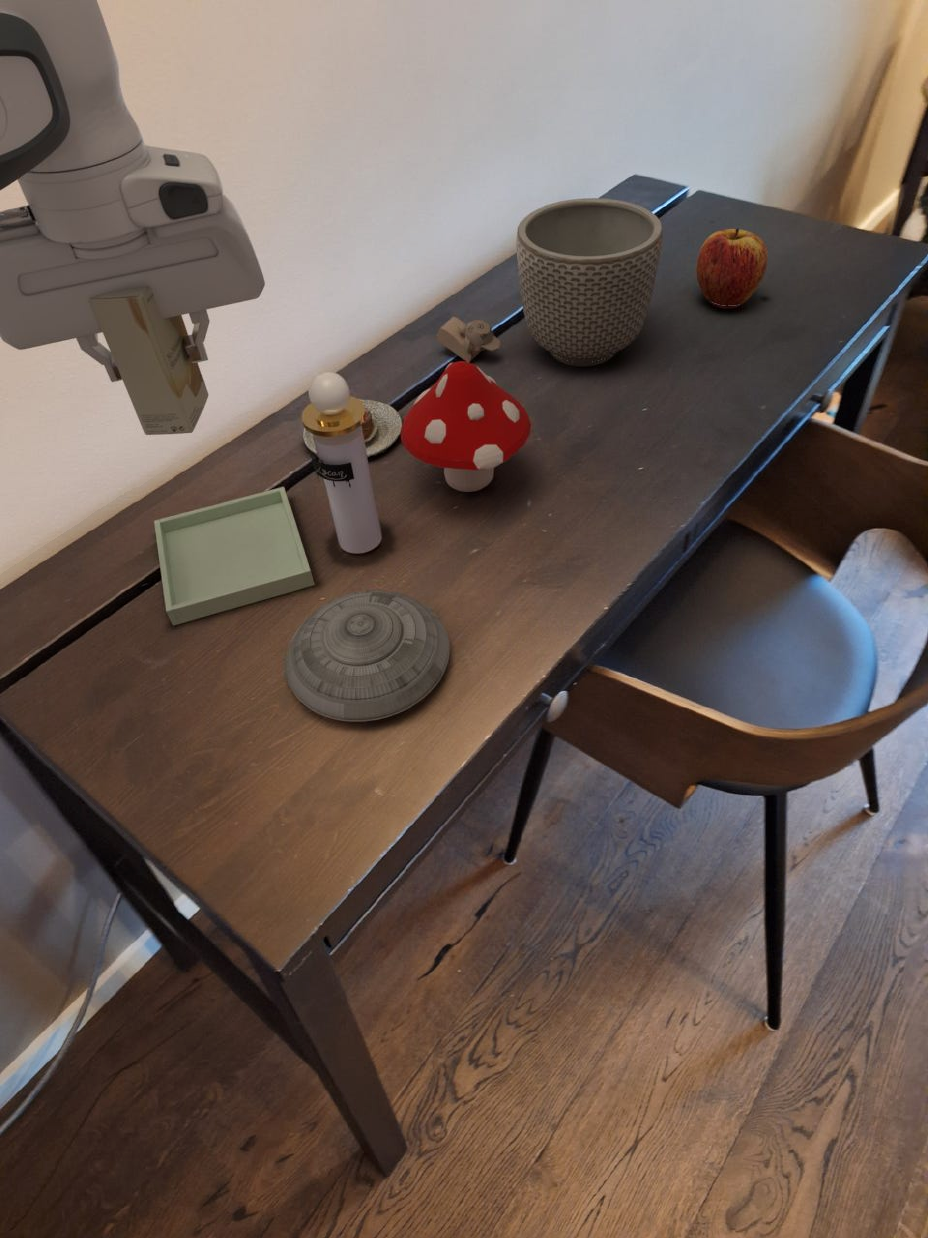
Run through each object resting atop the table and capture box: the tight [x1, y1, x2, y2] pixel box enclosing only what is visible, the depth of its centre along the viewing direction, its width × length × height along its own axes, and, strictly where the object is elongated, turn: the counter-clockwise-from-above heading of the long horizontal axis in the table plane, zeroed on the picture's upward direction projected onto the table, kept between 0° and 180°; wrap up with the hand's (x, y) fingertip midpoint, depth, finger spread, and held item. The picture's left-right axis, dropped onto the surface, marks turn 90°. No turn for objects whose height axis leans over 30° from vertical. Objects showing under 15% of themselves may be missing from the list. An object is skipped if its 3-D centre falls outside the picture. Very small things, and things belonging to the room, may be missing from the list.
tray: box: [153, 486, 316, 626], centre depth 84 cm, size 14×14×2 cm
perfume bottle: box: [301, 371, 383, 554], centre depth 78 cm, size 6×6×20 cm
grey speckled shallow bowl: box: [302, 398, 403, 458], centre depth 97 cm, size 12×12×5 cm
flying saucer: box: [284, 589, 451, 723], centre depth 73 cm, size 15×15×6 cm
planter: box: [515, 197, 664, 368], centre depth 102 cm, size 17×17×16 cm
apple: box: [695, 228, 768, 310], centre depth 110 cm, size 9×9×10 cm
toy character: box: [435, 316, 502, 363], centre depth 107 cm, size 4×8×6 cm, turn 58°
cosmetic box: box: [89, 287, 209, 436], centre depth 67 cm, size 6×4×12 cm
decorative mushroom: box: [400, 360, 532, 493], centre depth 85 cm, size 14×14×15 cm
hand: (160, 367), depth 68 cm, fingers closed on cosmetic box, 5 cm apart
